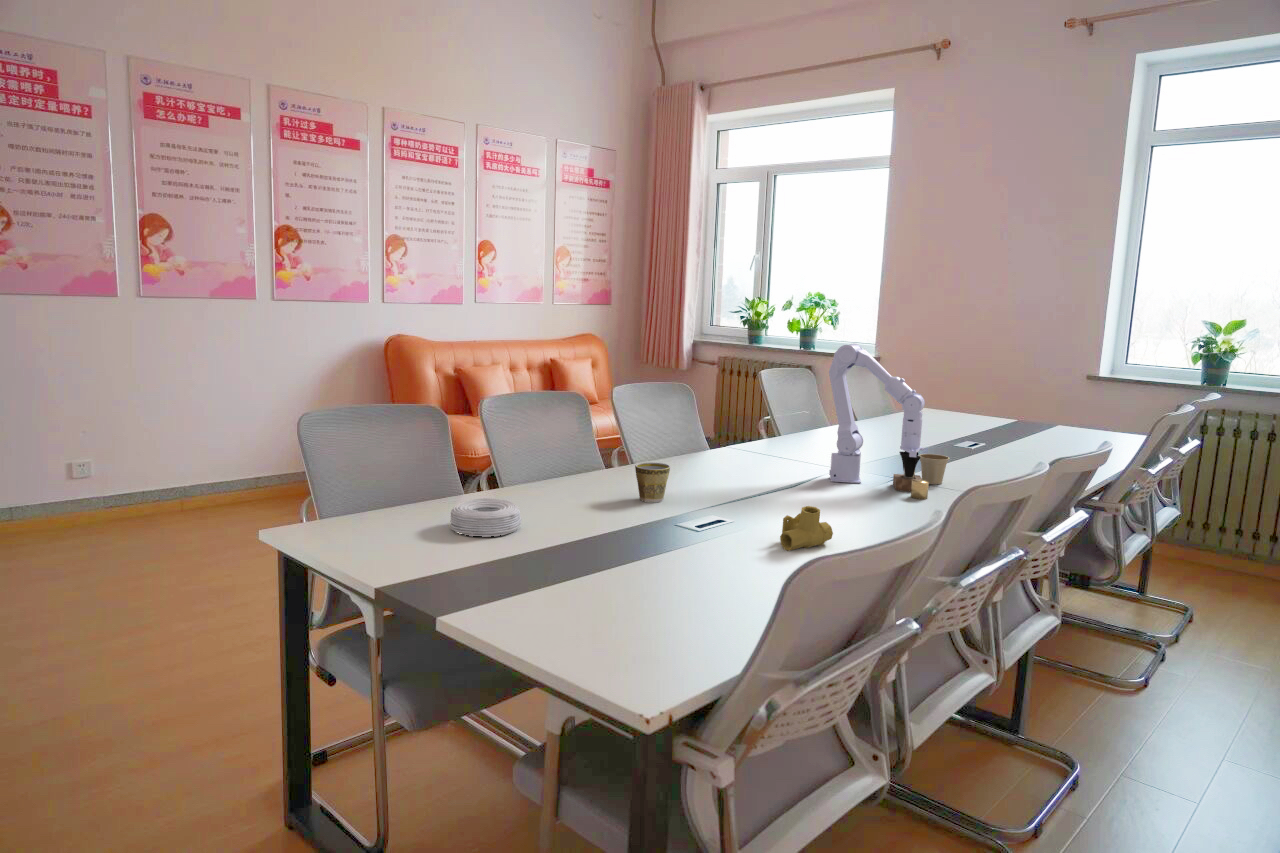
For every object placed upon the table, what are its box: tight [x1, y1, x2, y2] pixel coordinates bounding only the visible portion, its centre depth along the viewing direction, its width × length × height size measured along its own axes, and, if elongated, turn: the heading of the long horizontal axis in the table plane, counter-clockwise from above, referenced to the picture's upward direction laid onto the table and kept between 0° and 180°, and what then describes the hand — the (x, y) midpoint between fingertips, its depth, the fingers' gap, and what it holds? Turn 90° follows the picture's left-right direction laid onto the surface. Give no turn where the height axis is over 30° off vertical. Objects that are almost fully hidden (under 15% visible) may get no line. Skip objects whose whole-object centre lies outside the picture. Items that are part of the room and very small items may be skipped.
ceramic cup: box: [634, 462, 671, 503], centre depth 246 cm, size 13×10×10 cm
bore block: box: [892, 473, 922, 492], centre depth 268 cm, size 8×8×4 cm
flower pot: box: [918, 453, 950, 486], centre depth 277 cm, size 9×9×9 cm
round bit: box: [910, 480, 930, 501], centre depth 256 cm, size 5×5×5 cm
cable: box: [449, 497, 523, 538], centre depth 212 cm, size 18×18×6 cm
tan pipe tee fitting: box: [779, 505, 834, 551], centre depth 204 cm, size 13×10×10 cm
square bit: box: [902, 470, 916, 479], centre depth 268 cm, size 3×3×6 cm
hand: (908, 475), depth 268 cm, fingers closed on square bit, 3 cm apart
